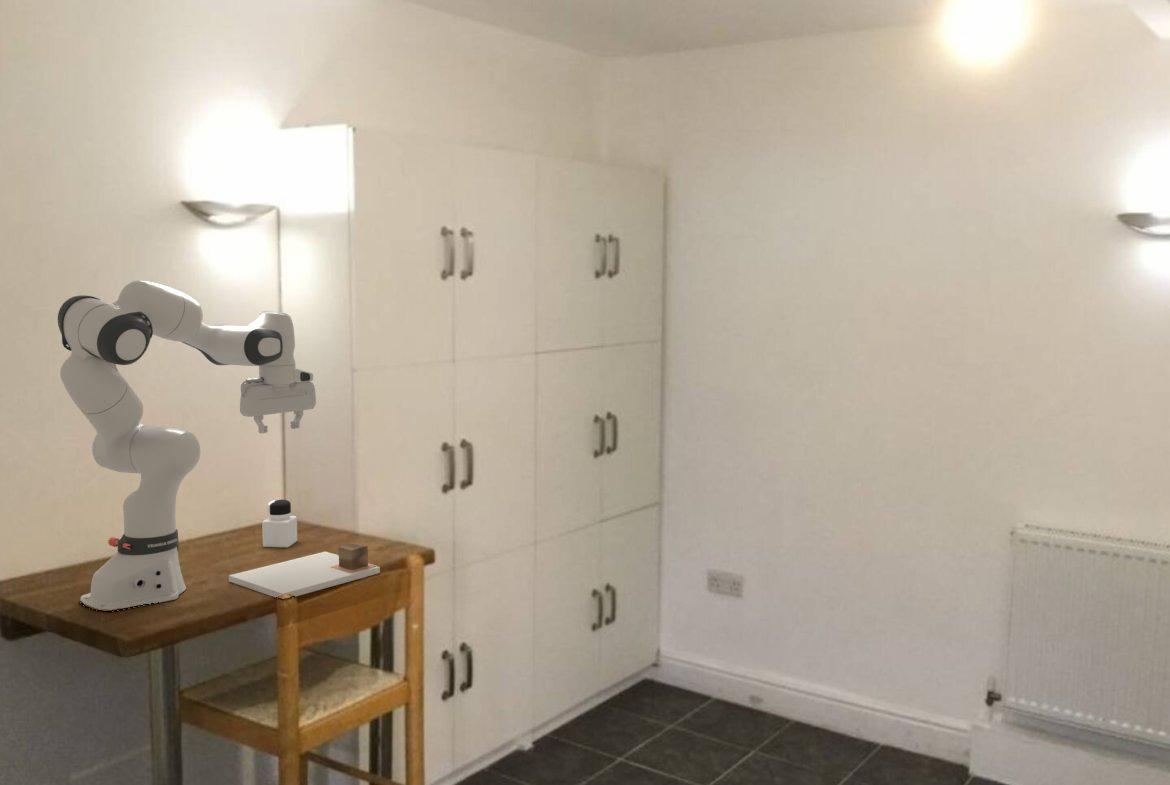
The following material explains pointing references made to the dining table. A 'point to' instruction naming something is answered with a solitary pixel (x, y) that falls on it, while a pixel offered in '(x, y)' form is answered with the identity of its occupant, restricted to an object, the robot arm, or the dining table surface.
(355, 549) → the walnut cube
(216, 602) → the dining table surface
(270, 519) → the medicine bottle
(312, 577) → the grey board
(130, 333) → the robot arm
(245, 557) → the dining table surface
